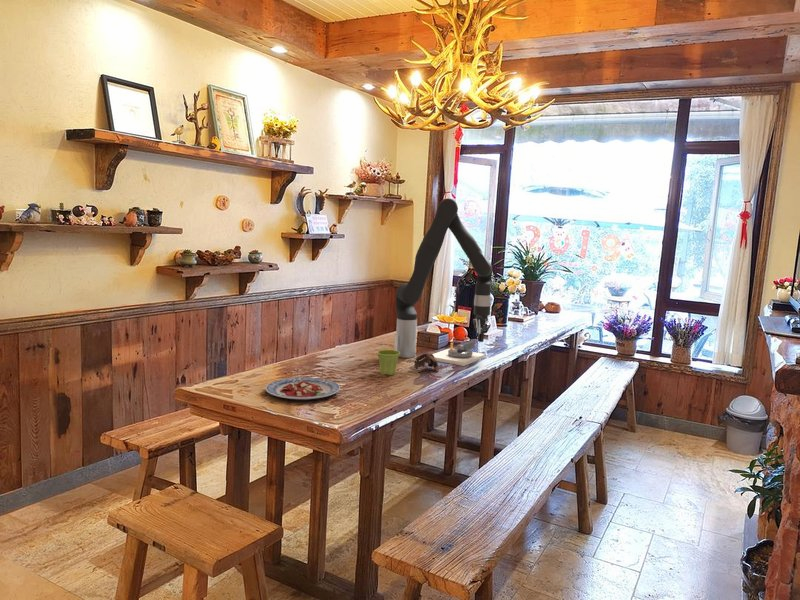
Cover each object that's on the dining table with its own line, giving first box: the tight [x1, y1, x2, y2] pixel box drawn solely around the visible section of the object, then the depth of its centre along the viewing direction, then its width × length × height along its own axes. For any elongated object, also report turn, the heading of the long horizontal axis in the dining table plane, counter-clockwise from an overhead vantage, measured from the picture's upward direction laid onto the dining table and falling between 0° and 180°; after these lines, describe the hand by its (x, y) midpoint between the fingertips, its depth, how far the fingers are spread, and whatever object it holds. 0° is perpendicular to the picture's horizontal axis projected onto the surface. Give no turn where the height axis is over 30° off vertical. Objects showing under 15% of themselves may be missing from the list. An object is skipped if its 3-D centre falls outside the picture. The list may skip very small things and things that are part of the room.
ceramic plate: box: [264, 376, 341, 401], centre depth 206 cm, size 26×26×3 cm
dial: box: [448, 340, 475, 358], centre depth 269 cm, size 18×11×4 cm, turn 147°
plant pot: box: [376, 349, 400, 376], centre depth 236 cm, size 9×9×9 cm
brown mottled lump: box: [413, 352, 440, 374], centre depth 244 cm, size 12×10×8 cm
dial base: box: [431, 342, 486, 367], centre depth 267 cm, size 22×18×4 cm
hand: (480, 341), depth 270 cm, fingers closed
